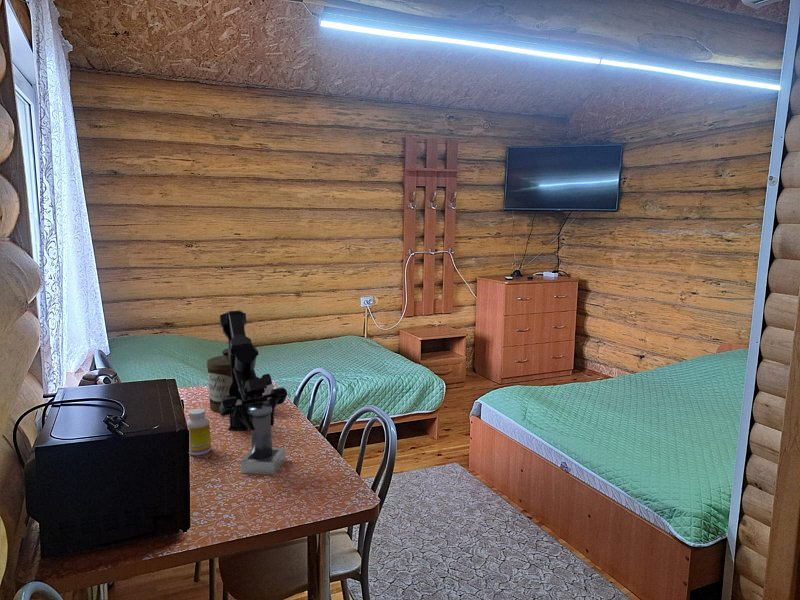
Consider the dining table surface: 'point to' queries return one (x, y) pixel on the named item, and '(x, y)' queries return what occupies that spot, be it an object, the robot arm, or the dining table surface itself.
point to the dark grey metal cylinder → (261, 430)
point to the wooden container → (218, 379)
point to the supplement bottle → (199, 432)
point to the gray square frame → (263, 462)
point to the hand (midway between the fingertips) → (262, 427)
